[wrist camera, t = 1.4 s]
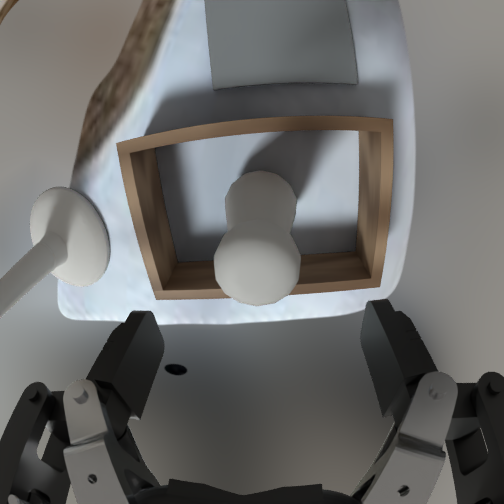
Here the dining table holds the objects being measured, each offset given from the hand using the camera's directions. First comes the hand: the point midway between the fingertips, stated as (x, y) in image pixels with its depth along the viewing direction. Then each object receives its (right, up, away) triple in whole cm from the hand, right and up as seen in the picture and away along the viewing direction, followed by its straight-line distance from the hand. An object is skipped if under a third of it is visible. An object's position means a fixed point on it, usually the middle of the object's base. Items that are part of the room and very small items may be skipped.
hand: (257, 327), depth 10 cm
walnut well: (+1, +8, +14) cm, 16 cm away
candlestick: (-22, +4, +17) cm, 28 cm away
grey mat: (+2, +22, +7) cm, 23 cm away
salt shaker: (+1, +8, +14) cm, 16 cm away
